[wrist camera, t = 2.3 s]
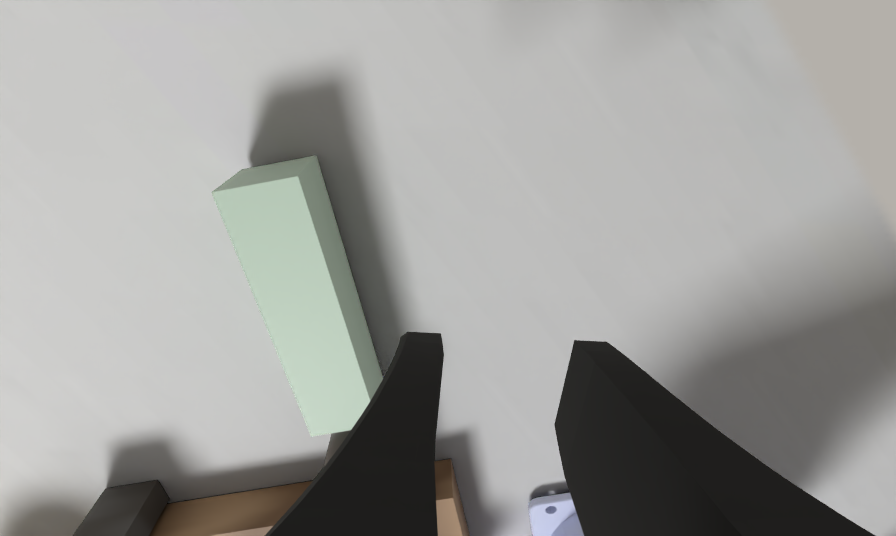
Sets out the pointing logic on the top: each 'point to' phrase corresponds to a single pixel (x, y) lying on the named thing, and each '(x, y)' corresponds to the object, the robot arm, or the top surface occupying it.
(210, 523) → the stool seat
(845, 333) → the top surface
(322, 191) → the pale green bar
